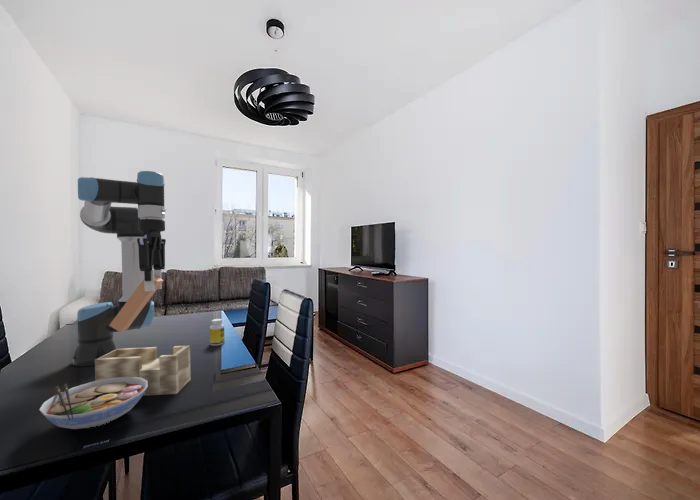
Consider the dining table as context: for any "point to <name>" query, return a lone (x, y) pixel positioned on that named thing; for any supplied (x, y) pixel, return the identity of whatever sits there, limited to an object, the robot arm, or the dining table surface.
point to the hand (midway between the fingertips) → (153, 289)
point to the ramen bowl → (94, 402)
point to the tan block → (134, 306)
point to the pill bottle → (217, 332)
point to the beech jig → (148, 368)
